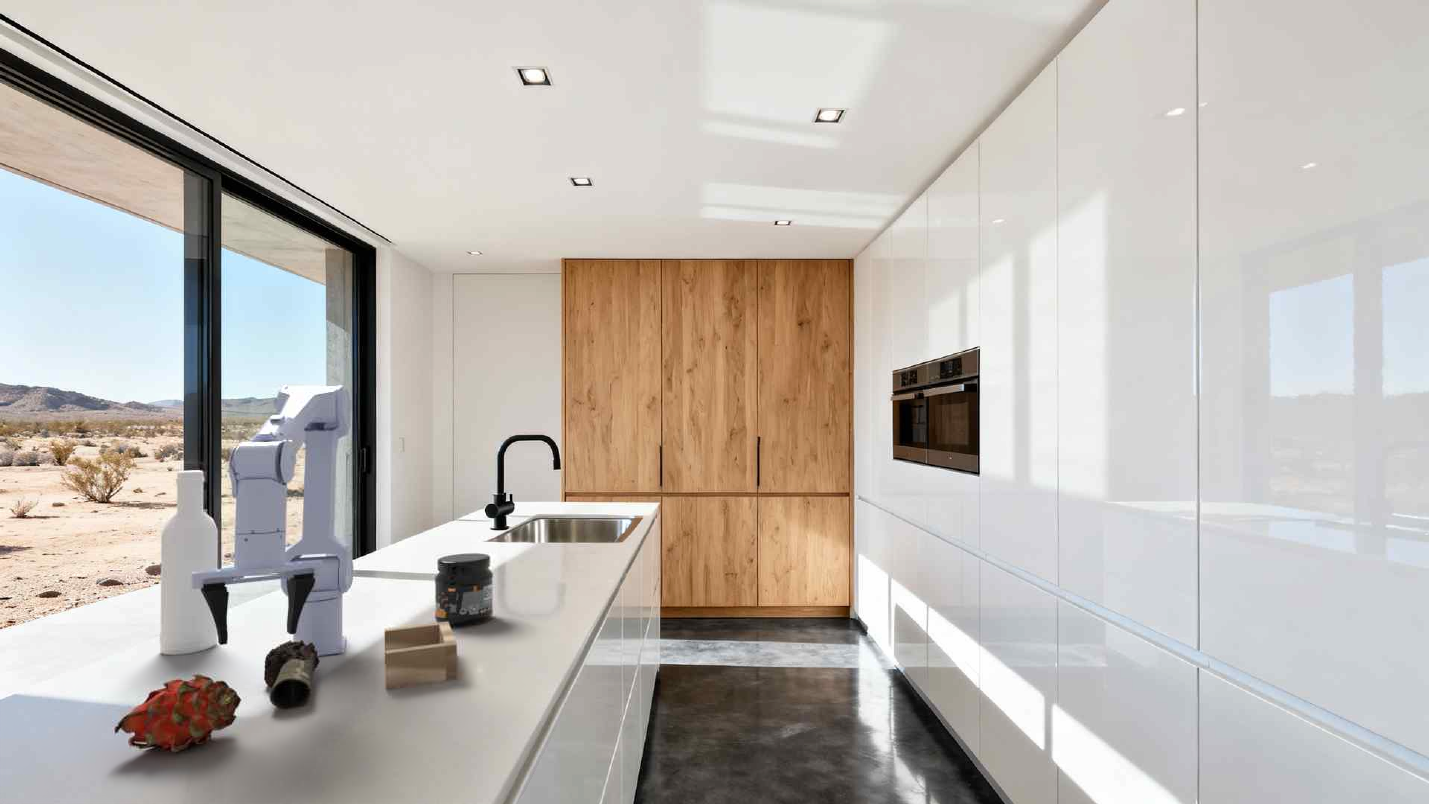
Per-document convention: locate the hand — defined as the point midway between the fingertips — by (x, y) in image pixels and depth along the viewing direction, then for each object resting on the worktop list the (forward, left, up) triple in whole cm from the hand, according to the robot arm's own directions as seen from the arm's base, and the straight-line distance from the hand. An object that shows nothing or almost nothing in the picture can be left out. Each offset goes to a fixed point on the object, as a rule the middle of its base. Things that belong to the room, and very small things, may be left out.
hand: (258, 638), depth 95 cm
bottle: (-39, -15, -10) cm, 43 cm away
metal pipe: (-9, +3, -10) cm, 14 cm away
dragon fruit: (+7, -7, -10) cm, 14 cm away
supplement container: (-35, +29, -10) cm, 47 cm away
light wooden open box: (-9, +19, -10) cm, 23 cm away
